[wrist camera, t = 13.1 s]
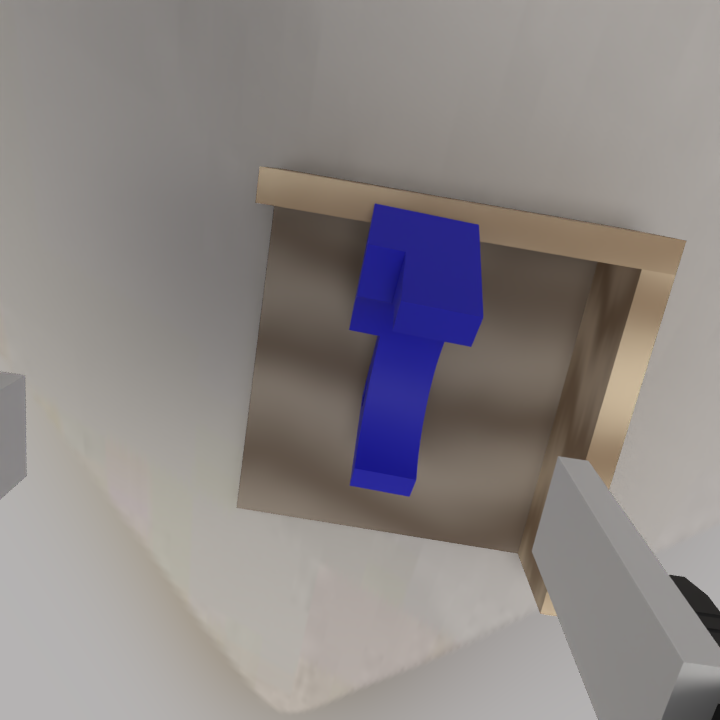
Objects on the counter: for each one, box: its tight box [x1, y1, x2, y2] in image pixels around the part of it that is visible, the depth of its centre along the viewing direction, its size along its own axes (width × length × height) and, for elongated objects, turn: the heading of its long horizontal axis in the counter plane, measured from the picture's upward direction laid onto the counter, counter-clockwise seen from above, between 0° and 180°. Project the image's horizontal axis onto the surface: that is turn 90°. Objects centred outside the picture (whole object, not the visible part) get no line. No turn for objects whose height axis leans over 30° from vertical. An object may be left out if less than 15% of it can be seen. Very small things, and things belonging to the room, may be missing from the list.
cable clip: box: [349, 204, 483, 497], centre depth 28 cm, size 12×4×6 cm, turn 168°
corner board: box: [237, 167, 686, 616], centre depth 32 cm, size 20×18×6 cm
